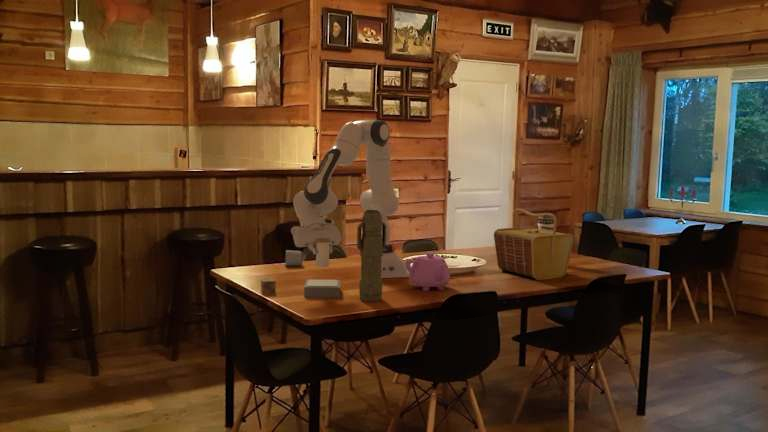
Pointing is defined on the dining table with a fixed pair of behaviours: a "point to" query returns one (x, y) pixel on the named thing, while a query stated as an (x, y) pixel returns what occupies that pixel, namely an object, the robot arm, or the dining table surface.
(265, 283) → the walnut cube
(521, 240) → the picnic basket
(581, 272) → the dining table surface
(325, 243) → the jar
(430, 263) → the purple piggy bank
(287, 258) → the ceramic mug
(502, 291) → the dining table surface
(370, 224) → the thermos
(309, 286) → the plinth
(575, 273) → the dining table surface
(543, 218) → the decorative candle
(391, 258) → the robot arm
